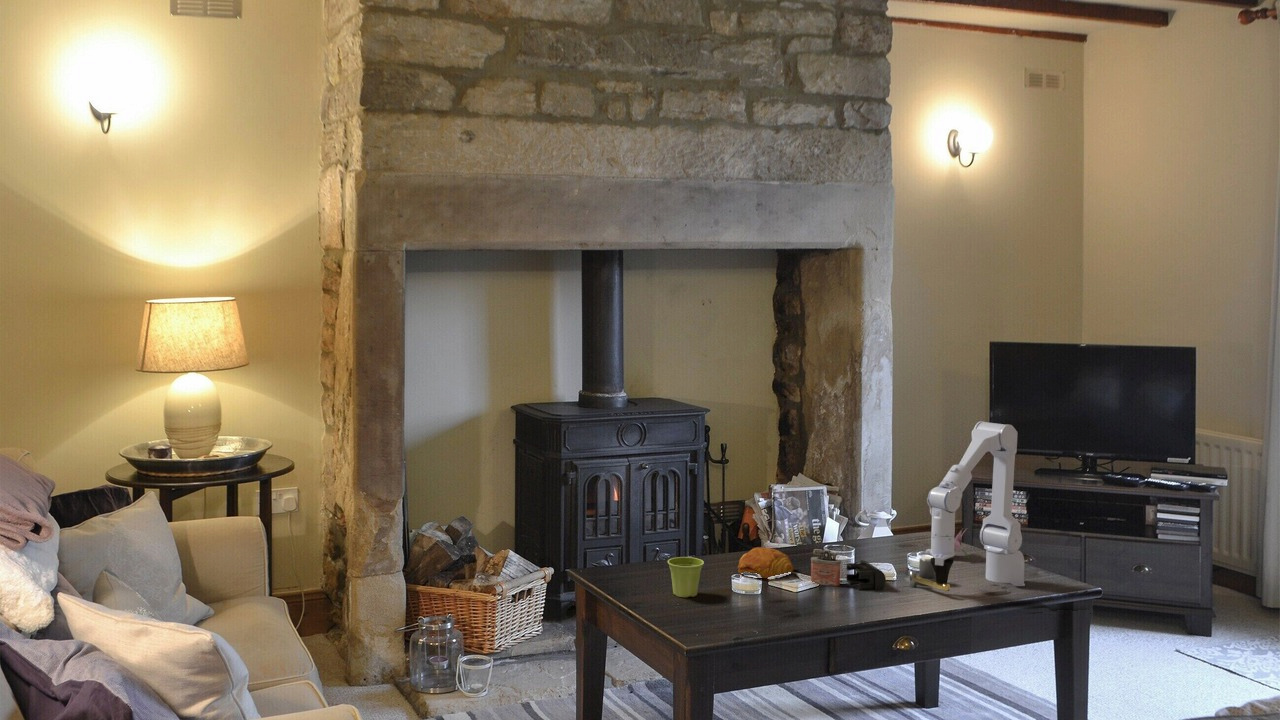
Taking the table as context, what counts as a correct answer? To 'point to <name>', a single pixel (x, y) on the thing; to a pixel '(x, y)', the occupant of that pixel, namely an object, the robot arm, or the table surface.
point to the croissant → (765, 562)
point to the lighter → (825, 568)
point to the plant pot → (685, 575)
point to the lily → (959, 542)
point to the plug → (926, 570)
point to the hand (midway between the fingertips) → (941, 586)
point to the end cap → (866, 576)
